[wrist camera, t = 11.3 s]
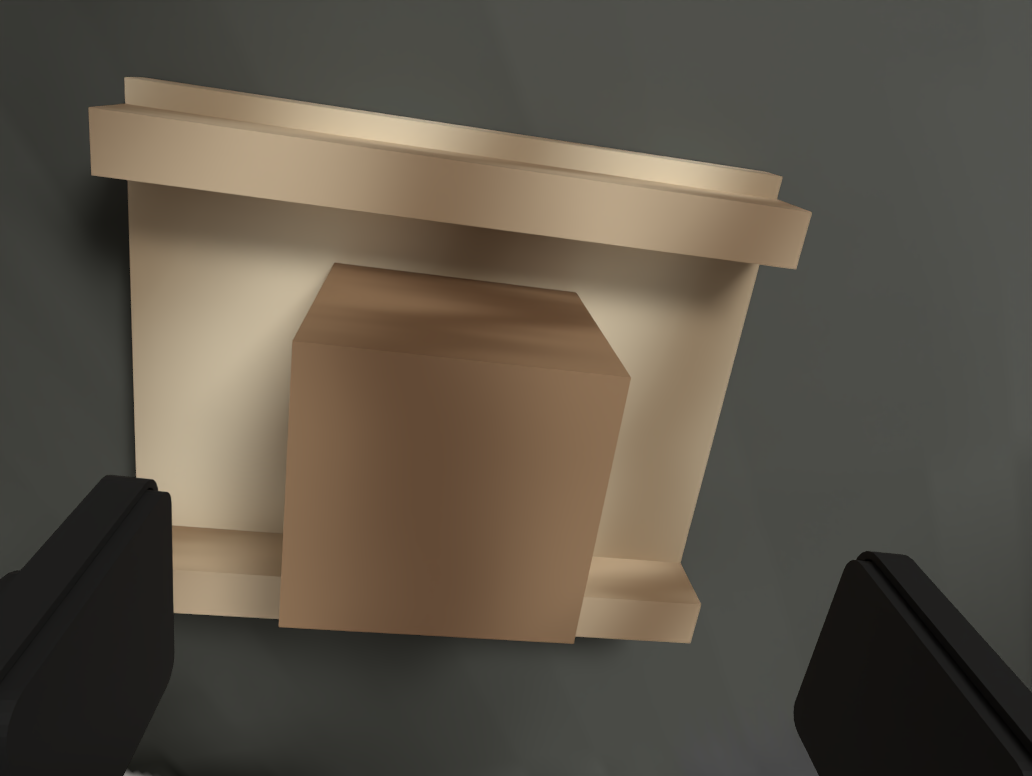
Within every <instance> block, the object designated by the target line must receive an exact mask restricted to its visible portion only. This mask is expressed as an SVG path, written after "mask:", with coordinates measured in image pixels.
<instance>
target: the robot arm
mask: <svg viewBox="0 0 1032 776" xmlns="http://www.w3.org/2000/svg"><path fill="white" fill-rule="evenodd" d="M173 663H174V606H173V549H172V502H171V496H170V494H169V493H168V492H163V491H158V486H157V483H156V481H154V480H153V479H146V478H136V477H126V476H116V475H106V476H105V477H104V478H102V479H101V480H100V481H99V483H98V484H97V485H96V486H95V487H94V488H93V489H92V490H91V492H90V493H89V494H88V495H87V496H86V497H85V498H84V500H83V501H82V502H81V503H80V504H79V505H78V506H77V507H76V509H75V510H74V511H73V512H72V513H71V514H70V515H69V516H68V518H67V519H66V520H65V521H64V522H63V523H62V524H61V525H60V527H59V528H58V529H57V530H56V531H55V532H54V533H53V534H52V536H51V537H50V538H49V539H48V540H47V541H46V542H45V544H44V545H43V546H42V547H41V548H40V549H39V550H38V551H37V553H36V554H35V555H34V556H33V557H32V558H31V559H30V560H29V562H28V563H27V564H26V565H25V566H24V567H23V568H22V569H21V571H13V572H10V573H8V574H6V575H5V576H4V577H3V578H2V579H0V776H123V775H124V773H125V771H126V769H127V767H128V765H129V763H130V761H131V759H132V757H133V755H134V753H135V751H136V748H137V746H138V744H139V742H140V740H141V738H142V736H143V734H144V732H145V730H146V728H147V726H148V724H149V722H150V720H151V718H152V716H153V714H154V711H155V709H156V707H157V705H158V703H159V701H160V699H161V697H162V695H163V693H164V691H165V689H166V687H167V684H168V682H169V679H170V676H171V673H172V668H173ZM794 722H795V727H796V729H797V732H798V734H799V736H800V738H801V740H802V742H803V744H804V746H805V748H806V750H807V752H808V754H809V756H810V758H811V760H812V762H813V764H814V767H815V769H816V771H817V773H818V775H819V776H1032V693H1031V691H1030V690H1029V689H1028V688H1027V687H1026V686H1025V685H1024V684H1023V683H1022V681H1021V680H1020V679H1019V678H1018V677H1017V676H1016V675H1015V674H1014V672H1013V671H1012V670H1011V669H1010V668H1009V667H1008V666H1007V665H1006V664H1005V662H1004V661H1003V660H1002V659H1001V658H1000V657H999V656H998V655H997V654H996V652H995V651H994V650H993V649H992V648H991V647H990V646H989V645H988V643H987V642H986V641H985V640H984V639H983V638H982V637H981V636H980V635H979V633H978V632H977V631H976V630H975V629H974V628H973V627H972V626H971V624H970V623H969V622H968V621H967V620H966V619H965V618H964V617H963V616H962V614H961V613H960V612H959V611H958V610H957V609H956V608H955V607H954V605H953V604H952V603H951V602H950V601H949V600H948V599H947V598H946V597H945V595H944V594H943V593H942V592H941V591H940V590H939V589H938V588H937V586H936V585H935V584H934V583H933V582H932V581H931V580H930V579H929V578H928V576H927V575H926V574H925V573H924V572H923V571H922V570H921V569H920V568H919V566H918V565H917V564H916V563H915V562H914V561H913V560H912V559H911V558H910V557H908V556H906V555H901V554H891V553H881V552H871V551H866V552H863V553H861V554H860V555H859V556H858V557H857V559H856V560H852V561H850V562H849V563H848V564H847V565H846V567H845V569H844V571H843V574H842V576H841V579H840V582H839V584H838V587H837V590H836V593H835V595H834V598H833V601H832V603H831V606H830V609H829V612H828V614H827V617H826V620H825V622H824V625H823V628H822V631H821V633H820V636H819V639H818V641H817V644H816V647H815V650H814V652H813V655H812V658H811V660H810V663H809V666H808V668H807V671H806V674H805V677H804V679H803V682H802V685H801V687H800V690H799V693H798V696H797V698H796V701H795V705H794Z"/></svg>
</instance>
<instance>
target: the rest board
mask: <svg viewBox="0 0 1032 776" xmlns="http://www.w3.org/2000/svg"><path fill="white" fill-rule="evenodd" d="M88 108H89V130H90V152H91V174H92V175H94V176H101V177H109V178H116V179H124V180H128V212H129V246H130V280H131V315H132V349H133V383H134V417H135V451H136V478H146V479H153V480H154V481H156V483H157V486H158V491H163V492H168V493H169V494H170V496H171V502H172V549H173V606H174V613H184V614H201V615H218V616H235V617H252V618H269V619H279V609H280V588H281V567H282V546H283V525H284V504H285V483H286V462H287V441H288V420H289V399H290V378H291V357H292V341H293V339H294V337H295V335H296V333H297V331H298V329H299V328H300V326H301V324H302V322H303V320H304V318H305V316H306V315H307V313H308V311H309V309H310V307H311V305H312V303H313V302H314V300H315V298H316V296H317V294H318V292H319V290H320V289H321V287H322V285H323V283H324V281H325V279H326V277H327V276H328V274H329V272H330V270H331V268H332V266H333V264H334V263H343V264H351V265H359V266H367V267H375V268H383V269H391V270H400V271H408V272H416V273H424V274H432V275H440V276H448V277H456V278H465V279H473V280H481V281H489V282H497V283H505V284H513V285H522V286H530V287H538V288H546V289H554V290H562V291H570V292H576V293H577V294H578V296H579V297H580V299H581V301H582V302H583V304H584V305H585V307H586V308H587V310H588V311H589V313H590V315H591V316H592V318H593V319H594V321H595V322H596V324H597V325H598V327H599V329H600V330H601V332H602V333H603V335H604V336H605V338H606V339H607V341H608V342H609V344H610V346H611V347H612V349H613V350H614V352H615V353H616V355H617V356H618V358H619V360H620V361H621V363H622V364H623V366H624V367H625V369H626V370H627V372H628V374H629V375H630V377H631V381H630V385H629V390H628V395H627V399H626V404H625V408H624V413H623V418H622V422H621V427H620V432H619V436H618V441H617V446H616V450H615V455H614V459H613V464H612V469H611V473H610V478H609V483H608V487H607V492H606V496H605V501H604V506H603V510H602V515H601V520H600V524H599V529H598V534H597V538H596V543H595V547H594V552H593V557H592V561H591V566H590V571H589V575H588V580H587V584H586V589H585V594H584V598H583V603H582V608H581V612H580V617H579V622H578V626H577V631H576V635H575V636H576V637H593V638H610V639H627V640H644V641H661V642H678V643H690V642H691V639H692V635H693V632H694V628H695V624H696V621H697V617H698V614H699V610H700V607H701V603H700V601H699V599H698V597H697V595H696V593H695V591H694V589H693V587H692V585H691V583H690V581H689V579H688V577H687V575H686V573H685V571H684V569H683V567H682V565H681V563H680V562H681V558H682V555H683V551H684V547H685V543H686V539H687V536H688V532H689V528H690V524H691V521H692V517H693V513H694V509H695V506H696V502H697V498H698V494H699V490H700V487H701V483H702V479H703V475H704V472H705V468H706V464H707V460H708V457H709V453H710V449H711V445H712V441H713V438H714V434H715V430H716V426H717V423H718V419H719V415H720V411H721V407H722V404H723V400H724V396H725V392H726V389H727V385H728V381H729V377H730V374H731V370H732V366H733V362H734V358H735V355H736V351H737V347H738V343H739V340H740V336H741V332H742V328H743V325H744V321H745V317H746V313H747V309H748V306H749V302H750V298H751V294H752V291H753V287H754V283H755V279H756V275H757V272H758V268H759V264H760V265H767V266H775V267H782V268H790V269H796V267H797V264H798V260H799V257H800V253H801V250H802V246H803V243H804V239H805V236H806V232H807V229H808V225H809V222H810V218H811V214H812V212H810V211H807V210H804V209H802V208H799V207H796V206H794V205H791V204H788V203H785V202H783V201H780V200H777V196H778V193H779V189H780V185H781V181H782V177H781V176H778V175H775V174H771V173H768V172H764V171H757V170H751V169H744V168H737V167H731V166H724V165H718V164H711V163H704V162H698V161H691V160H685V159H678V158H672V157H665V156H658V155H652V154H645V153H639V152H632V151H625V150H619V149H612V148H606V147H599V146H592V145H586V144H579V143H573V142H566V141H560V140H553V139H546V138H540V137H533V136H527V135H520V134H513V133H507V132H500V131H494V130H487V129H481V128H474V127H467V126H461V125H454V124H448V123H441V122H434V121H428V120H421V119H415V118H408V117H402V116H395V115H388V114H382V113H375V112H369V111H362V110H355V109H349V108H342V107H336V106H329V105H323V104H316V103H309V102H303V101H296V100H290V99H283V98H276V97H270V96H263V95H257V94H250V93H243V92H237V91H230V90H224V89H217V88H211V87H204V86H197V85H191V84H184V83H178V82H171V81H164V80H158V79H151V78H145V77H125V104H117V105H106V106H96V107H88Z"/></svg>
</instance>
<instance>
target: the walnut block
mask: <svg viewBox="0 0 1032 776" xmlns="http://www.w3.org/2000/svg"><path fill="white" fill-rule="evenodd" d="M630 381H631V377H630V375H629V374H628V372H627V370H626V369H625V367H624V366H623V364H622V363H621V361H620V360H619V358H618V356H617V355H616V353H615V352H614V350H613V349H612V347H611V346H610V344H609V342H608V341H607V339H606V338H605V336H604V335H603V333H602V332H601V330H600V329H599V327H598V325H597V324H596V322H595V321H594V319H593V318H592V316H591V315H590V313H589V311H588V310H587V308H586V307H585V305H584V304H583V302H582V301H581V299H580V297H579V296H578V294H577V293H576V292H570V291H562V290H554V289H546V288H538V287H530V286H522V285H513V284H505V283H497V282H489V281H481V280H473V279H465V278H456V277H448V276H440V275H432V274H424V273H416V272H408V271H400V270H391V269H383V268H375V267H367V266H359V265H351V264H343V263H334V264H333V266H332V268H331V270H330V272H329V274H328V276H327V277H326V279H325V281H324V283H323V285H322V287H321V289H320V290H319V292H318V294H317V296H316V298H315V300H314V302H313V303H312V305H311V307H310V309H309V311H308V313H307V315H306V316H305V318H304V320H303V322H302V324H301V326H300V328H299V329H298V331H297V333H296V335H295V337H294V339H293V341H292V357H291V378H290V399H289V420H288V441H287V462H286V483H285V504H284V525H283V546H282V567H281V588H280V609H279V627H287V628H304V629H322V630H340V631H357V632H375V633H393V634H410V635H428V636H446V637H463V638H481V639H498V640H516V641H534V642H551V643H569V644H574V640H575V635H576V631H577V626H578V622H579V617H580V612H581V608H582V603H583V598H584V594H585V589H586V584H587V580H588V575H589V571H590V566H591V561H592V557H593V552H594V547H595V543H596V538H597V534H598V529H599V524H600V520H601V515H602V510H603V506H604V501H605V496H606V492H607V487H608V483H609V478H610V473H611V469H612V464H613V459H614V455H615V450H616V446H617V441H618V436H619V432H620V427H621V422H622V418H623V413H624V408H625V404H626V399H627V395H628V390H629V385H630Z"/></svg>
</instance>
